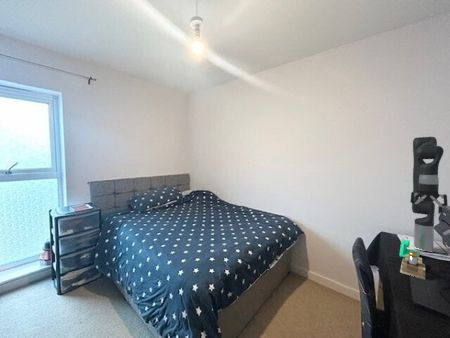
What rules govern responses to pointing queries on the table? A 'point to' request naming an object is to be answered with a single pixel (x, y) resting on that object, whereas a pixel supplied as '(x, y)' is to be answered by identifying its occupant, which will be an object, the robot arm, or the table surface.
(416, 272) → the dock board
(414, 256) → the lock pin
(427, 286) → the table surface
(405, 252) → the camera mount
